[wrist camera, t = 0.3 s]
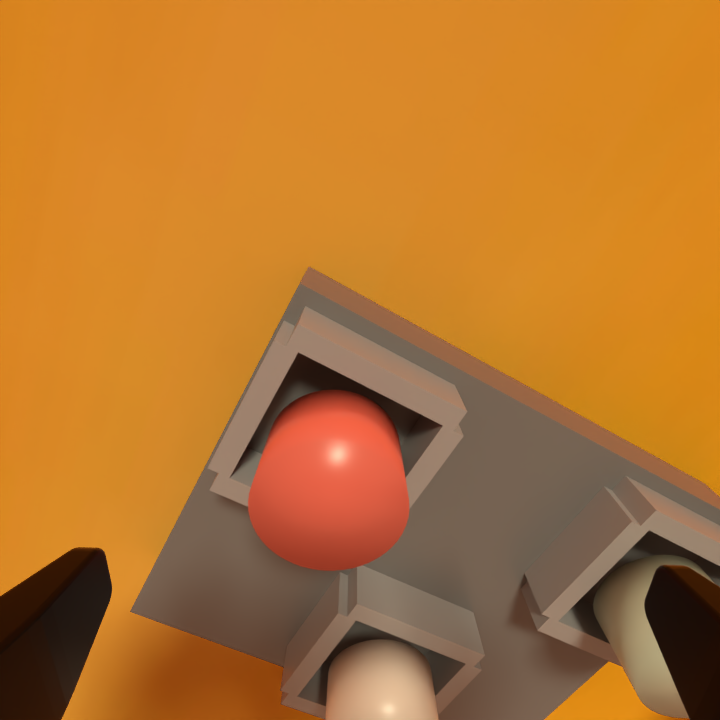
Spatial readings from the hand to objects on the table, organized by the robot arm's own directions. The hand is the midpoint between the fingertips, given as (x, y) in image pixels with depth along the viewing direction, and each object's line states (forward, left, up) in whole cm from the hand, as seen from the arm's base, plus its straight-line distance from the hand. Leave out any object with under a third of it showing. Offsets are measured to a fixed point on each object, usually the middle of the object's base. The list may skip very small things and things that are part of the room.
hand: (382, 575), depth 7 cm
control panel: (-7, +7, -12) cm, 16 cm away
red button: (0, +3, -8) cm, 8 cm away
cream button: (-7, +12, -8) cm, 16 cm away
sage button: (-14, +3, -7) cm, 16 cm away
